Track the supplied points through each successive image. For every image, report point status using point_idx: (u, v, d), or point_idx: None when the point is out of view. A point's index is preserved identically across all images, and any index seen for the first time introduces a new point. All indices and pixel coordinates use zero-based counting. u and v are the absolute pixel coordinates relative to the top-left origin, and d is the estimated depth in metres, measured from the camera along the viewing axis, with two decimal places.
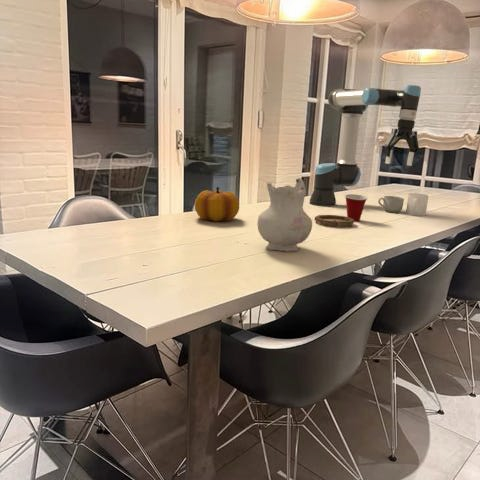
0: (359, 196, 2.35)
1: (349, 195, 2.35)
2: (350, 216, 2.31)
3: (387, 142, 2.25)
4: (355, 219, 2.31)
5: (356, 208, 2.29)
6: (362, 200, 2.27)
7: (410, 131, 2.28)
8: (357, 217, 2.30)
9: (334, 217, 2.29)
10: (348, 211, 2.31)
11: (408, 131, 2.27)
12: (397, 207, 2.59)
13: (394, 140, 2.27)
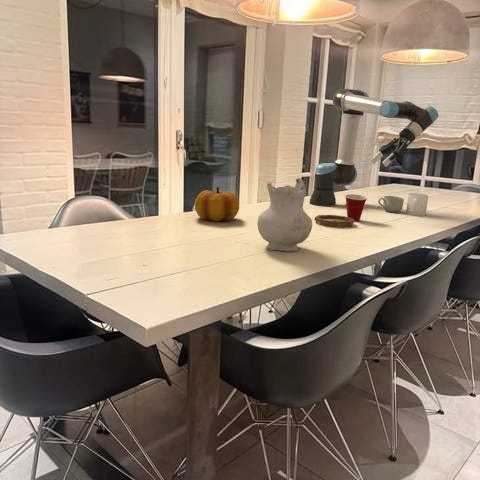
0: (359, 196, 2.35)
1: (349, 195, 2.35)
2: (350, 216, 2.31)
3: (401, 150, 2.24)
4: (355, 219, 2.31)
5: (356, 208, 2.29)
6: (362, 200, 2.27)
7: None
8: (357, 217, 2.30)
9: (334, 217, 2.29)
10: (348, 211, 2.31)
11: None
12: (397, 207, 2.59)
13: None
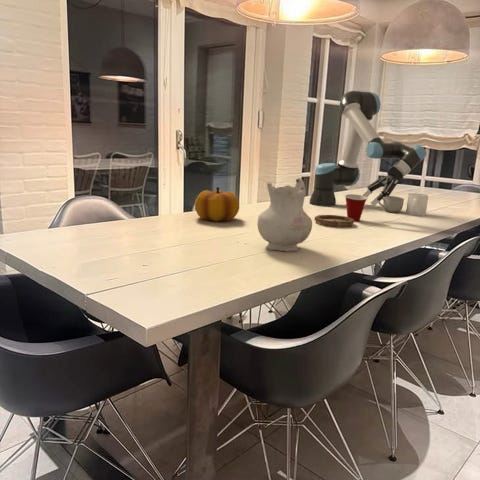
0: (359, 196, 2.35)
1: (349, 195, 2.35)
2: (350, 216, 2.31)
3: (389, 190, 2.22)
4: (355, 219, 2.31)
5: (356, 208, 2.29)
6: (362, 200, 2.27)
7: None
8: (357, 217, 2.30)
9: (334, 217, 2.29)
10: (348, 211, 2.31)
11: None
12: (397, 207, 2.59)
13: (387, 187, 2.26)
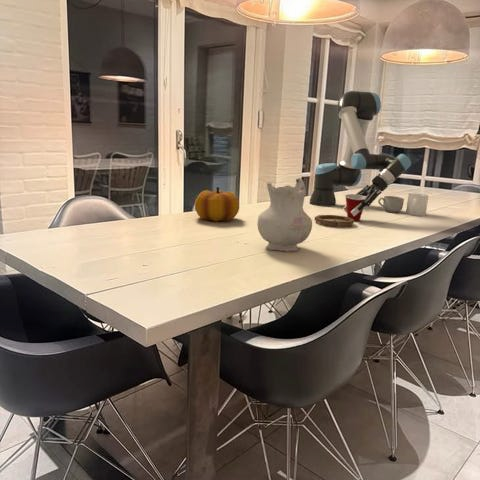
0: (359, 196, 2.35)
1: (349, 195, 2.35)
2: (350, 216, 2.31)
3: (370, 201, 2.24)
4: (355, 219, 2.31)
5: None
6: (362, 200, 2.27)
7: None
8: (357, 217, 2.30)
9: (334, 217, 2.29)
10: (348, 211, 2.31)
11: None
12: (397, 207, 2.59)
13: None
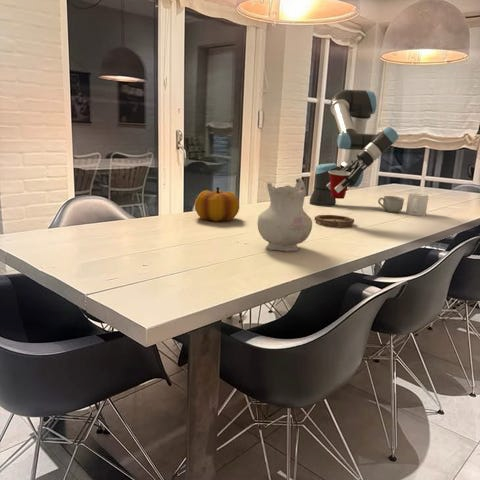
0: (344, 172, 2.21)
1: (333, 171, 2.21)
2: (334, 193, 2.17)
3: (355, 176, 2.10)
4: (339, 196, 2.17)
5: None
6: (346, 176, 2.13)
7: None
8: (341, 194, 2.16)
9: (334, 217, 2.29)
10: (332, 188, 2.17)
11: None
12: (397, 207, 2.59)
13: None
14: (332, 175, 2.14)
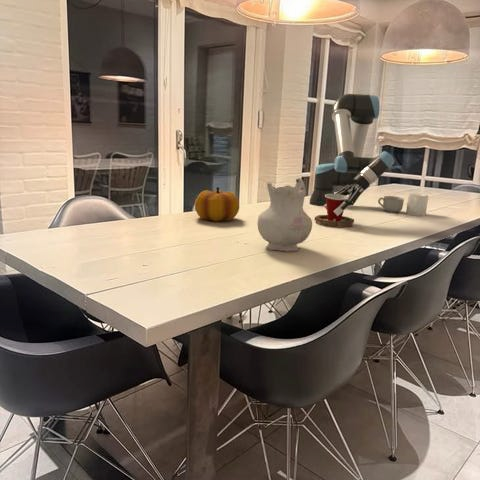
0: (340, 196, 2.23)
1: (330, 195, 2.23)
2: (330, 217, 2.19)
3: (354, 199, 2.11)
4: None
5: None
6: (342, 200, 2.15)
7: None
8: (338, 218, 2.19)
9: None
10: (328, 212, 2.20)
11: None
12: (397, 207, 2.59)
13: None
14: (328, 199, 2.17)
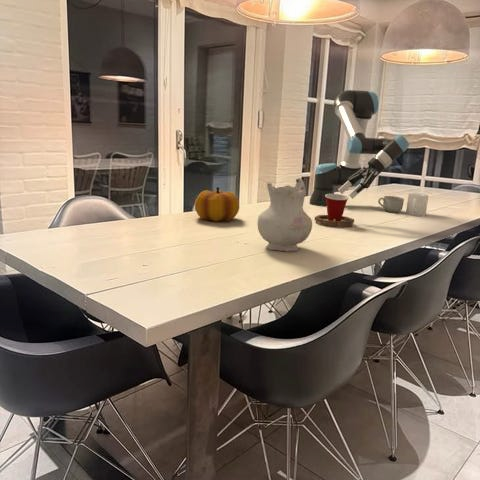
0: (340, 196, 2.23)
1: (330, 195, 2.23)
2: (330, 217, 2.19)
3: (369, 182, 2.13)
4: (336, 220, 2.19)
5: (337, 208, 2.17)
6: (343, 200, 2.15)
7: None
8: (338, 218, 2.19)
9: None
10: (328, 212, 2.20)
11: None
12: (397, 207, 2.59)
13: None
14: (329, 199, 2.17)
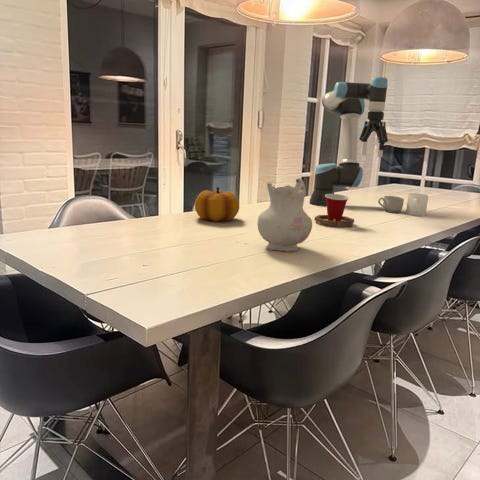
0: (340, 196, 2.23)
1: (330, 195, 2.23)
2: (330, 217, 2.19)
3: (385, 136, 2.24)
4: (336, 220, 2.19)
5: (337, 208, 2.17)
6: (343, 200, 2.15)
7: None
8: (338, 218, 2.19)
9: None
10: (328, 212, 2.20)
11: None
12: (397, 207, 2.59)
13: (380, 133, 2.28)
14: (329, 199, 2.17)
